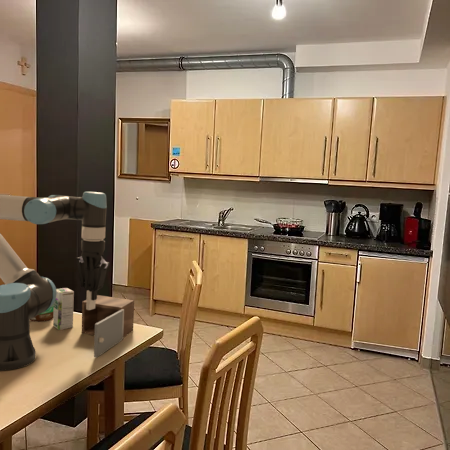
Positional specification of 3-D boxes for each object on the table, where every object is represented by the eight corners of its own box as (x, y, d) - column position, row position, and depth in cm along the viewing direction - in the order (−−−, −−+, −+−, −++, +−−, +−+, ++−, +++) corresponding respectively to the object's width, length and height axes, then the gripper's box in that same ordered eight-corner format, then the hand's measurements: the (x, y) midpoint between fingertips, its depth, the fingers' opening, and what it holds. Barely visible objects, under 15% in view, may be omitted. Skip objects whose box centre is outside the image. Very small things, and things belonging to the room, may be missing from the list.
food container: (34, 325, 173) (35, 300, 172) (26, 321, 177) (26, 296, 176) (63, 318, 183) (63, 294, 182) (54, 314, 187) (55, 290, 186)
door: (120, 338, 164) (121, 309, 162) (126, 339, 163) (127, 310, 162) (93, 356, 147) (94, 324, 146) (100, 357, 146) (100, 325, 145)
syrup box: (52, 326, 173) (53, 289, 172) (67, 323, 177) (68, 287, 176) (58, 330, 169) (59, 292, 168) (73, 327, 173) (74, 290, 172)
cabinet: (81, 333, 168) (82, 301, 166) (96, 324, 178) (96, 295, 176) (120, 339, 164) (121, 307, 162) (133, 330, 173) (134, 300, 172)
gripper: (116, 240, 148) (113, 310, 151) (86, 235, 154) (84, 302, 157) (100, 243, 142) (97, 315, 145) (70, 237, 148) (67, 307, 150)
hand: (90, 308), depth 151 cm, fingers closed
